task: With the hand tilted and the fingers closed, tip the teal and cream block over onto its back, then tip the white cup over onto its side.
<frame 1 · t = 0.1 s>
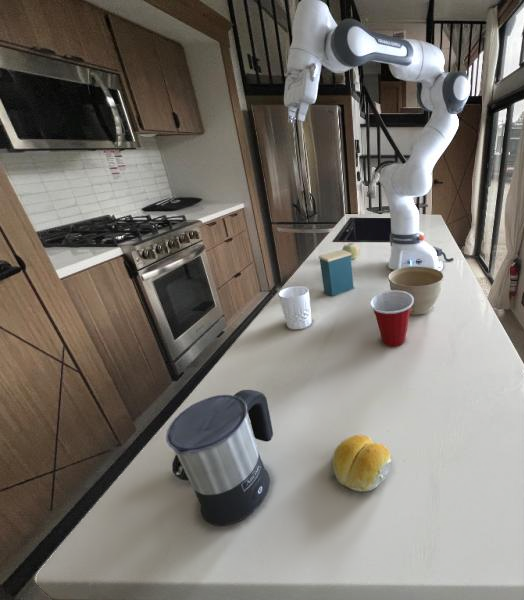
hand: (295, 122, 94), 52 cm above the table, tool tilted 20°, fingers open, 8 cm apart
fruit: (351, 259, 144), on the table
white cup: (299, 324, 92), on the table
teal and cream block: (339, 290, 113), on the table
bread roll: (362, 467, 51), on the table
planter bowl: (415, 308, 99), on the table
plastic cup: (393, 341, 83), on the table
milk frother: (220, 481, 49), on the table
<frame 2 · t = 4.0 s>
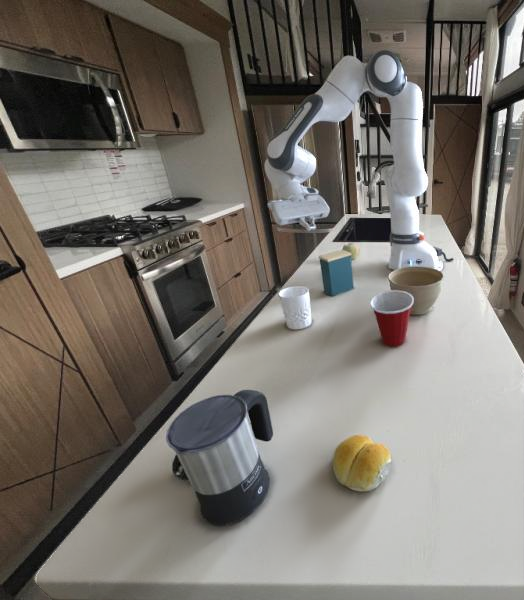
hand: (312, 229, 112), 19 cm above the table, tool tilted 45°, fingers closed
nothing on the table moved.
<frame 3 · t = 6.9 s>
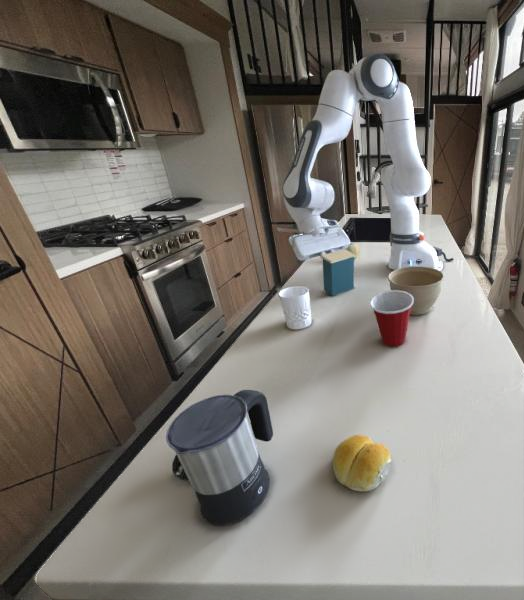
hand: (333, 263, 110), 9 cm above the table, tool tilted 45°, fingers closed
teal and cream block: (338, 289, 113), on the table, tilted 8°
everything else where it was.
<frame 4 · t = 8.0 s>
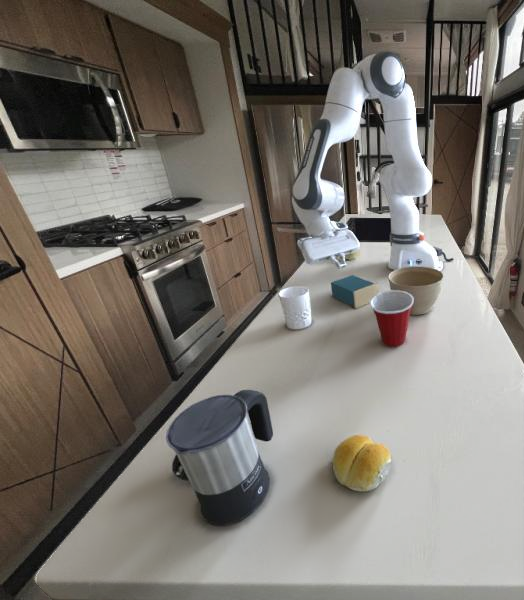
hand: (342, 267, 106), 9 cm above the table, tool tilted 45°, fingers closed
teal and cream block: (342, 285, 110), point 3 cm above the table, tilted 89°
everything else where it was.
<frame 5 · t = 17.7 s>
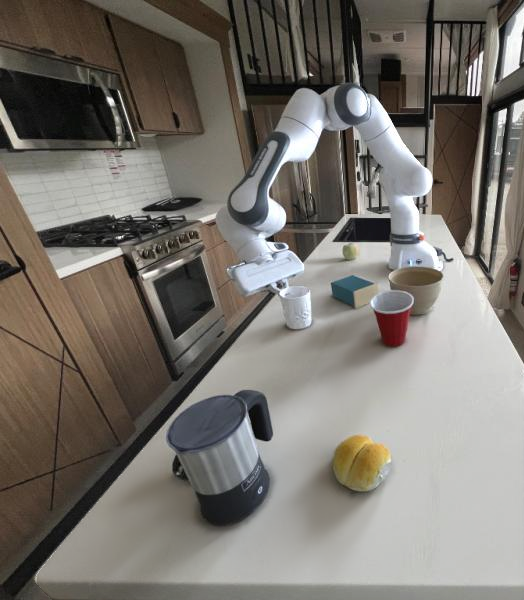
hand: (286, 295, 90), 8 cm above the table, tool tilted 45°, fingers closed, pressing on white cup
white cup: (299, 323, 92), on the table, touching gripper
everything else where it was.
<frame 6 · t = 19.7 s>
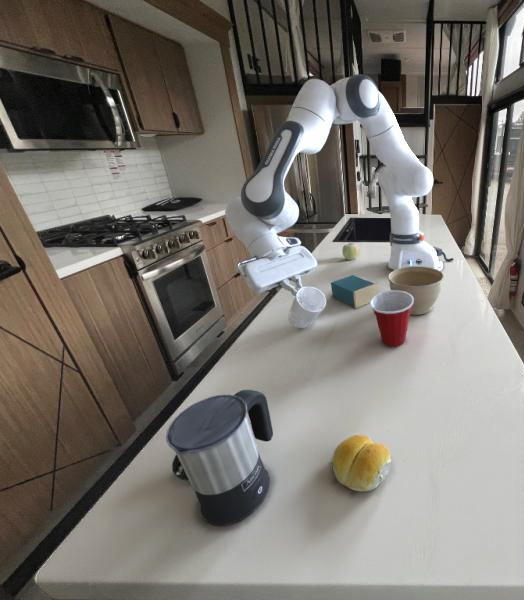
hand: (299, 293, 86), 10 cm above the table, tool tilted 45°, fingers closed
white cup: (299, 318, 91), point 2 cm above the table, touching gripper
everything else where it was.
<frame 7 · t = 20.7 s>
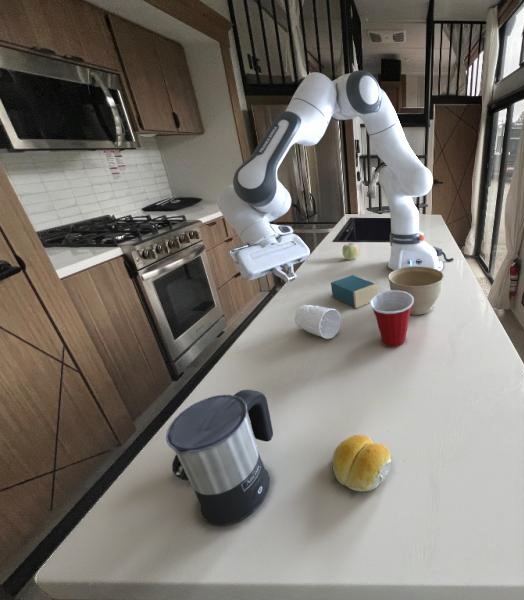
hand: (291, 280, 87), 13 cm above the table, tool tilted 45°, fingers closed
white cup: (303, 316, 89), point 3 cm above the table
everything else where it was.
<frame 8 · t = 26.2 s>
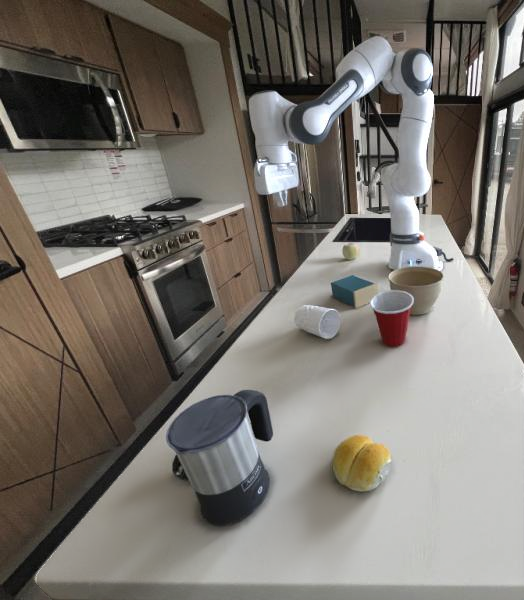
hand: (282, 206, 99), 29 cm above the table, tool pointing down, fingers closed
nothing on the table moved.
at the end: teal and cream block tilted 89°; teal and cream block inside the target area (3.4 cm from its centre), point 2.5 cm above the table; white cup tilted 86° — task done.
